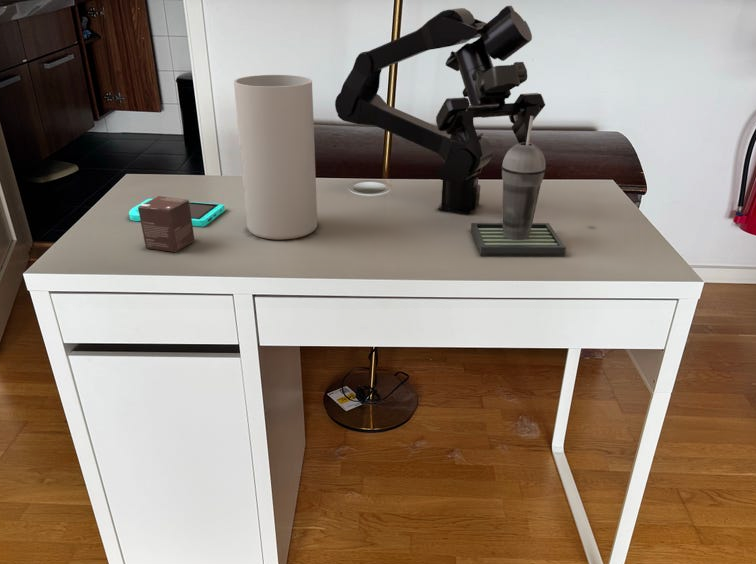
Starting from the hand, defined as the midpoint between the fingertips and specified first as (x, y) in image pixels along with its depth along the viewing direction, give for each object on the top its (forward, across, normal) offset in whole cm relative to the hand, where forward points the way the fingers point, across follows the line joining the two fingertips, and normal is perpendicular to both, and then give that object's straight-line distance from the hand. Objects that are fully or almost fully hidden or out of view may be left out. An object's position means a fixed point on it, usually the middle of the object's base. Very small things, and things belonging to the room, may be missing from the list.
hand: (504, 154), depth 117 cm
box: (+1, -56, +19) cm, 59 cm away
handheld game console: (-10, -53, +30) cm, 62 cm away
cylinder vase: (0, -36, +20) cm, 41 cm away
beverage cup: (+13, 0, +4) cm, 14 cm away
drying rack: (+14, 0, +5) cm, 15 cm away
